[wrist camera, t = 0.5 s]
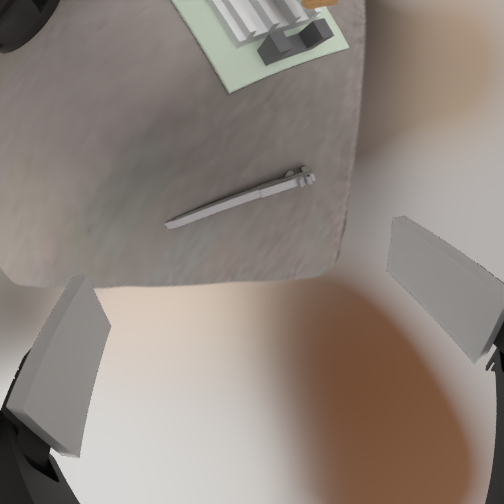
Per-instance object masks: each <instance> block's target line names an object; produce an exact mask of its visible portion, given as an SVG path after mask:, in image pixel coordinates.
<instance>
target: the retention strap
mask: <svg viewBox="0 0 504 504" xmlns="http://www.w3.org/2000/svg"><path fill="white" fill-rule="evenodd" d="M334 4H337V0H301V5H302V6H303V7H305V8H306V9H308V10H310V9H315V8H319V7H324V6H329V5H334Z"/></svg>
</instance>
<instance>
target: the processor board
mask: <svg viewBox="0 0 504 504" xmlns="http://www.w3.org/2000/svg"><path fill="white" fill-rule="evenodd" d="M171 2H172V3H173V5H174V6H175V8H176V9H177V11H178V12H179V14H180V15H181V17H182V18H183V20H184V21H185V23H186V24H187V26H188V28H189V29H190V31H191V32H192V34H193V35H194V37H195V39H196V40H197V42H198V43H199V45H200V47H201V48H202V50H203V52H204V53H205V55H206V56H207V58H208V60H209V61H210V63H211V65H212V66H213V68H214V70H215V71H216V73H217V75H218V76H219V78H220V80H221V82H222V83H223V85H224V87H225V89H226V90H227V92H228V94H231V93H233V92H235V91H237V90H239V89H241V88H243V87H246V86H248V85H250V84H252V83H254V82H257V81H259V80H261V79H264V78H266V77H268V76H271V75H273V74H276V73H278V72H281V71H283V70H286V69H288V68H291V67H293V66H296V65H299V64H302V63H304V62H307V61H310V60H313V59H316V58H319V57H322V56H325V55H329V54H332V53H335V52H338V51H342V50H345V49H347V48H349V46H348V44H347V42H346V40H345V39H344V37H343V35H342V33H341V31H340V30H339V28H338V26H337V24H336V23H335V21H334V19H333V18H332V16H331V14H330V13H329V11H328V9H327V8H326V6H324V7H319V8H315V9H310V10H308V9H306V8H305V7H303V6H302V5H301V0H171Z"/></svg>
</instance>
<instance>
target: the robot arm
mask: <svg viewBox="0 0 504 504" xmlns="http://www.w3.org/2000/svg"><path fill="white" fill-rule="evenodd" d="M58 2H59V0H0V52H1V53H6V52H10V51H13V50H15V49H17V48H19V47H21V46H22V45H23V44H25V43H26V42H27V41H29V40H30V39H31V38H32V37H33V36H34V35H35V34H36V33H37V32H38V31H39V30H40V29H41V28H42V27H43V25H44V24H45V23H46V22H47V20H48V19H49V18H50V16H51V15H52V13H53V11H54V10H55V8H56V6H57V4H58ZM387 272H388V273H389V274H390V275H391V276H392V277H393V278H394V279H395V280H396V281H397V282H398V283H399V284H400V285H401V286H402V287H403V288H404V289H405V290H406V291H407V292H408V293H409V294H410V295H411V296H412V297H413V298H414V299H415V300H416V301H417V302H418V303H419V304H420V305H421V306H422V307H423V308H424V309H425V310H426V311H427V312H428V313H429V314H430V315H431V316H432V317H433V318H434V319H435V321H436V322H437V323H438V324H439V325H440V326H441V327H442V328H443V329H444V330H445V331H446V332H447V333H448V335H449V336H450V337H451V338H452V339H453V340H454V341H455V342H456V344H457V345H458V346H459V347H460V348H461V349H462V350H463V352H464V353H465V354H466V355H467V356H468V357H469V358H470V360H471V361H472V362H473V363H474V364H476V363H477V362H478V361H480V360H481V359H483V358H484V357H485V356H487V354H488V352H489V350H490V348H491V346H492V345H493V344H494V345H495V346H496V347H497V348H496V350H495V352H494V354H493V355H492V357H491V359H490V360H489V362H488V364H487V365H486V370H488V369H489V368H490V366H491V365H492V363H493V362H494V363H495V364H494V365H493V367H492V369H491V371H495V375H496V393H497V394H496V395H497V396H496V397H497V419H496V438H495V450H494V458H493V466H492V473H491V479H490V485H489V489H488V494H487V498H486V503H485V504H504V283H503V282H501V281H500V280H499V279H498V278H496V277H494V275H493V274H491V273H490V272H488V271H487V270H486V269H485V268H483V267H482V266H481V265H479V264H478V263H476V262H475V261H473V260H472V259H470V258H469V257H468V256H466V255H465V254H463V253H462V252H461V251H459V250H457V249H456V248H455V247H453V246H452V245H450V244H449V243H447V242H446V241H444V240H443V239H441V238H440V237H438V236H437V235H435V234H433V233H432V232H430V231H429V230H427V229H426V228H424V227H422V226H421V225H419V224H418V223H416V222H414V221H412V220H411V219H409V218H408V217H406V216H401V217H395V218H392V226H391V237H390V247H389V255H388V263H387ZM110 328H111V325H110V323H109V321H108V319H107V317H106V315H105V313H104V311H103V308H102V306H101V304H100V302H99V300H98V298H97V296H96V294H95V291H94V289H93V287H92V285H91V282H90V280H89V278H88V275H82V276H77V277H73V278H72V279H71V281H70V282H69V284H68V286H67V287H66V289H65V290H64V292H63V294H62V295H61V297H60V298H59V300H58V302H57V303H56V305H55V307H54V308H53V310H52V312H51V313H50V315H49V317H48V319H47V320H46V322H45V324H44V326H43V327H42V329H41V331H40V333H39V335H38V337H37V339H36V341H35V342H34V344H33V347H32V348H31V349H30V350H29V351H28V353H27V354H26V355H25V356H24V358H23V359H22V362H21V364H20V366H19V370H17V372H16V374H15V379H13V381H12V383H11V386H10V388H9V391H8V393H7V395H6V398H5V400H4V403H3V406H2V408H1V410H0V504H80V503H79V501H78V500H77V498H76V497H75V495H74V493H73V492H72V490H71V488H70V486H69V485H68V483H67V481H66V479H65V478H64V476H63V474H62V472H61V470H60V468H59V466H58V464H57V462H56V460H55V459H54V457H53V456H52V455H51V454H49V453H50V448H53V449H54V450H55V451H57V452H58V453H60V454H61V455H63V456H68V457H75V458H79V457H80V450H81V444H82V438H83V432H84V427H85V423H86V418H87V413H88V408H89V404H90V399H91V395H92V391H93V387H94V383H95V379H96V375H97V372H98V368H99V364H100V361H101V357H102V354H103V350H104V347H105V344H106V340H107V337H108V334H109V331H110Z"/></svg>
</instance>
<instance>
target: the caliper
mask: <svg viewBox="0 0 504 504" xmlns="http://www.w3.org/2000/svg"><path fill="white" fill-rule="evenodd" d="M301 170H302V173H298V174H295V175H294V173H293V171H292V170H290V171H288V172H287V174H286V175H285V177H283V178H280V179H276V180H272V181H269V182H266V183H263V184H260V185H259V187H256V188H253V189H250V190H247V191H245V192H242V193H239V194H236V195H233V196H231V197H228V198H225V199H222V200H220V201H217V202H214V203H212V204H209V205H206V206H204V207H201V208H198V209H196V210H193V211H191V212H188V213H185V214H183V215H181V216H179V217H176V218H174V219H173V220H170V221H168V222H166V223H165V225H166V227H167V229H171V228H177V227H180V226H182V225H185V224H187V223H190V222H193V221H195V220H198V219H201V218H203V217H206V216H209V215H212V214H214V213H217V212H220V211H223V210H225V209H228V208H231V207H234V206H237V205H239V204H242V203H245V202H248V201H251V200H254V199H257V198H260V197H262V198H263V197H266V196H269V195H272V194H275V193H278V192H281V191H284V190H287V189H290V188H294V187H296V186H297V185H299V184H300V185H301V187H304V185H305V183H307V184H310V185H311V184H312V181H315V177H314V174H313V171H312V169H311V168H309V167H306V166H301Z"/></svg>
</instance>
